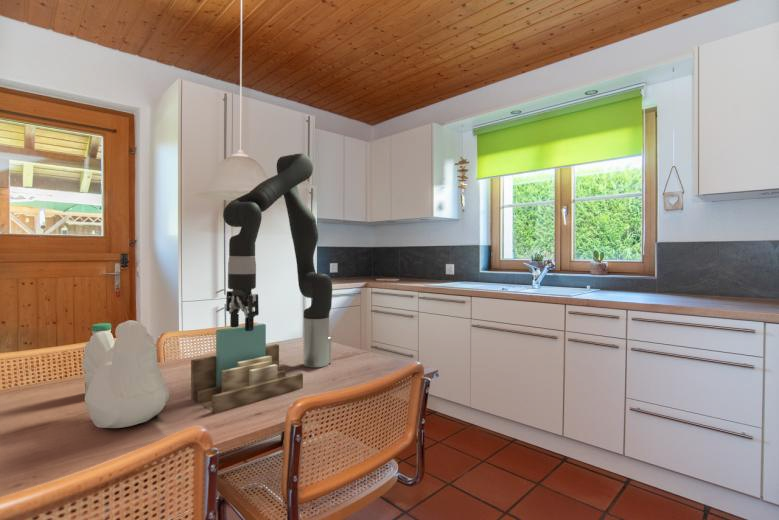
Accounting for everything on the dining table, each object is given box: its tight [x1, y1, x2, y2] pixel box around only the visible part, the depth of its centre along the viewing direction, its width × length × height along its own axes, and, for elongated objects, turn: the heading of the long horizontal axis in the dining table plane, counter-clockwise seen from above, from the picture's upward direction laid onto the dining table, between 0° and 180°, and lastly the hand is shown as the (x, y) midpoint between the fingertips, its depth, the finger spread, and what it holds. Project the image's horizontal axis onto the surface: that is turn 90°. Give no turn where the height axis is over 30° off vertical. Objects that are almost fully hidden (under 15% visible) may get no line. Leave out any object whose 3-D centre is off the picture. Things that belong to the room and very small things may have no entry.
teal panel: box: [215, 323, 267, 387], centre depth 117 cm, size 14×2×18 cm, turn 138°
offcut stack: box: [222, 356, 277, 393], centre depth 114 cm, size 15×4×9 cm, turn 138°
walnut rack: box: [190, 343, 304, 414], centre depth 115 cm, size 26×14×12 cm, turn 138°
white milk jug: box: [81, 319, 171, 429], centre depth 100 cm, size 25×16×25 cm, turn 54°
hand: (241, 328), depth 117 cm, fingers open, 8 cm apart
